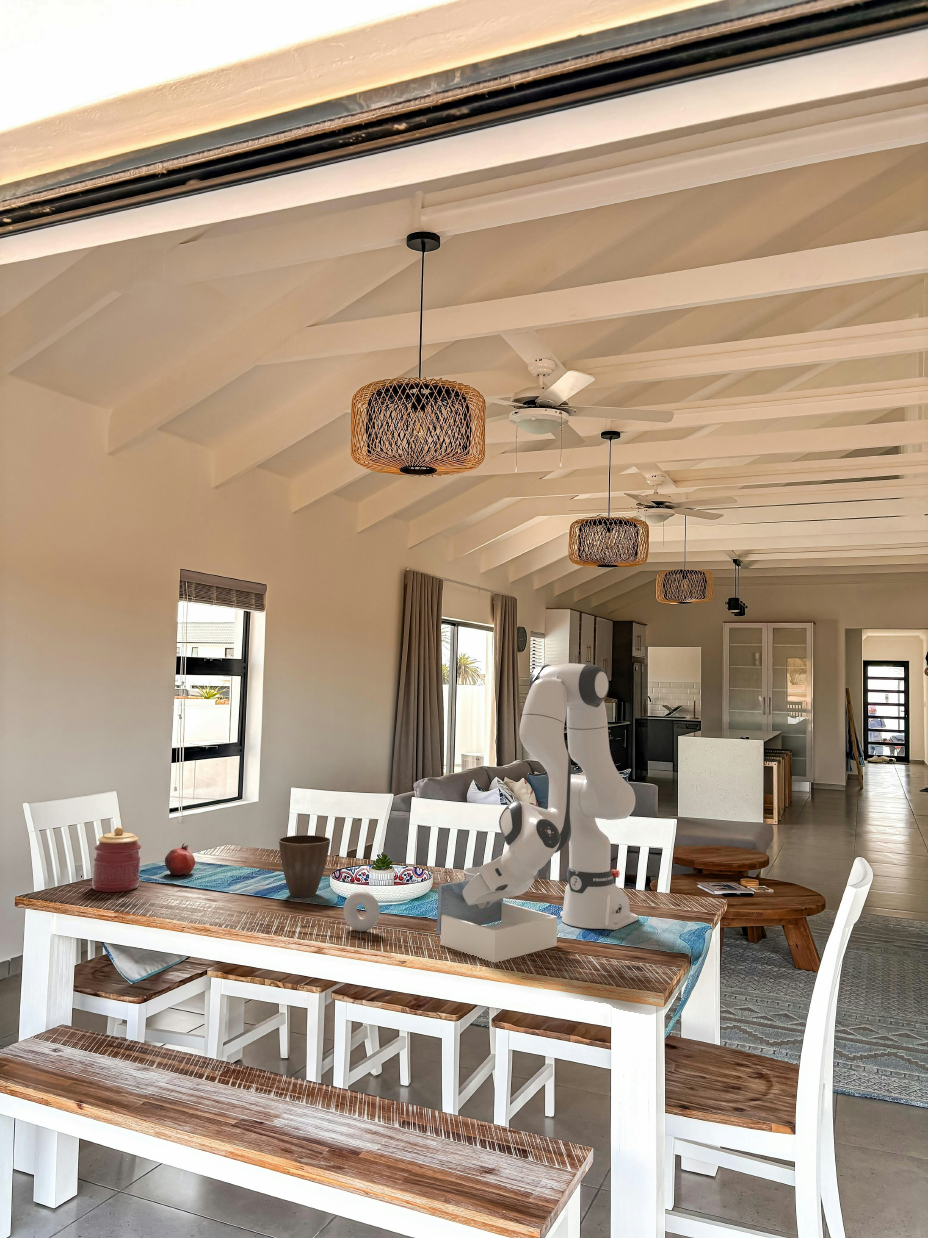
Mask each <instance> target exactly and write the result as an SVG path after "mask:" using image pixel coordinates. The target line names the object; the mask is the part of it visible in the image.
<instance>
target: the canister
mask: <svg viewBox="0 0 928 1238" xmlns="http://www.w3.org/2000/svg"><path fill="white" fill-rule="evenodd" d="M139 839H140V838H139V837H138V836H136V835H135V833H131V832H125V830H124V828H123V827H122V826H117V827H116V828H115V829H114V831H113V832H109V833H105V834H103V835H102V836H101V837H99V838H97V841H98V842H99V843H98V844H97V845H96V846H94V850H95V857H94V858H93V875H92V880H91V882H92V883H91V886H92V889H93V890H94V891H96V892H103V893H119V892H127V891H132V890H135V889H137V888H138V887H139V884H140V866H141V865H140V864H141V856H140V849H142V845H141V844H140V843H138V841H139Z"/></svg>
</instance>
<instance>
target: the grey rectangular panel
mask: <svg viewBox="0 0 928 1238" xmlns="http://www.w3.org/2000/svg"><path fill="white" fill-rule="evenodd" d="M470 881H471V879H469V880H466V879H464V880H463V879H462V880H459V881H453V882H447V883H440V884H438V885H437V908H436V909H437V913H436V914H437V915H436V934H437V935H439V936H441V915H447V916H450V917H454V918H457V919H460V920H464V921H467V922H470V923H473V924H477V925H480V926H485V925H488V924H489V925H490V924H494V923H497V922H498V923H499V922H501V912H502V902H504V898H503V899H499V900H497V901H496V902H494V903H492V904H491V905H490V906H489V907H486V908H481V909H480V908H479V907H478V905H477V904H474V905H468V904H467V902H466V901H465V899H464V897H463V894H462V892H463V890H464V888H465V887H466V885H467V884H468V883H469V882H470Z"/></svg>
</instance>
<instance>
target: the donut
mask: <svg viewBox="0 0 928 1238" xmlns="http://www.w3.org/2000/svg"><path fill="white" fill-rule="evenodd" d="M359 905H361V906H364V908H365V911H366V914H365V916H364V917H361V916H360V915H359V913H358V906H359ZM380 913H381V912H380V905H379V903H378V900H377V899H376V898H375V895H373V894H371V892H369V891H366V890H357V891H354V892H352V893H351V894H350V895H349V896H348V897H347V898H346V900H345V902H344V905H343V916H344V921H345V922H346V923H347V924H348V926H349V927H350V928H352V930H355V931H357V932H367V931H369V930H371V929H373V928H374V927H375V926H376V925H377V923H378V921H379V918H380Z"/></svg>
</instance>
